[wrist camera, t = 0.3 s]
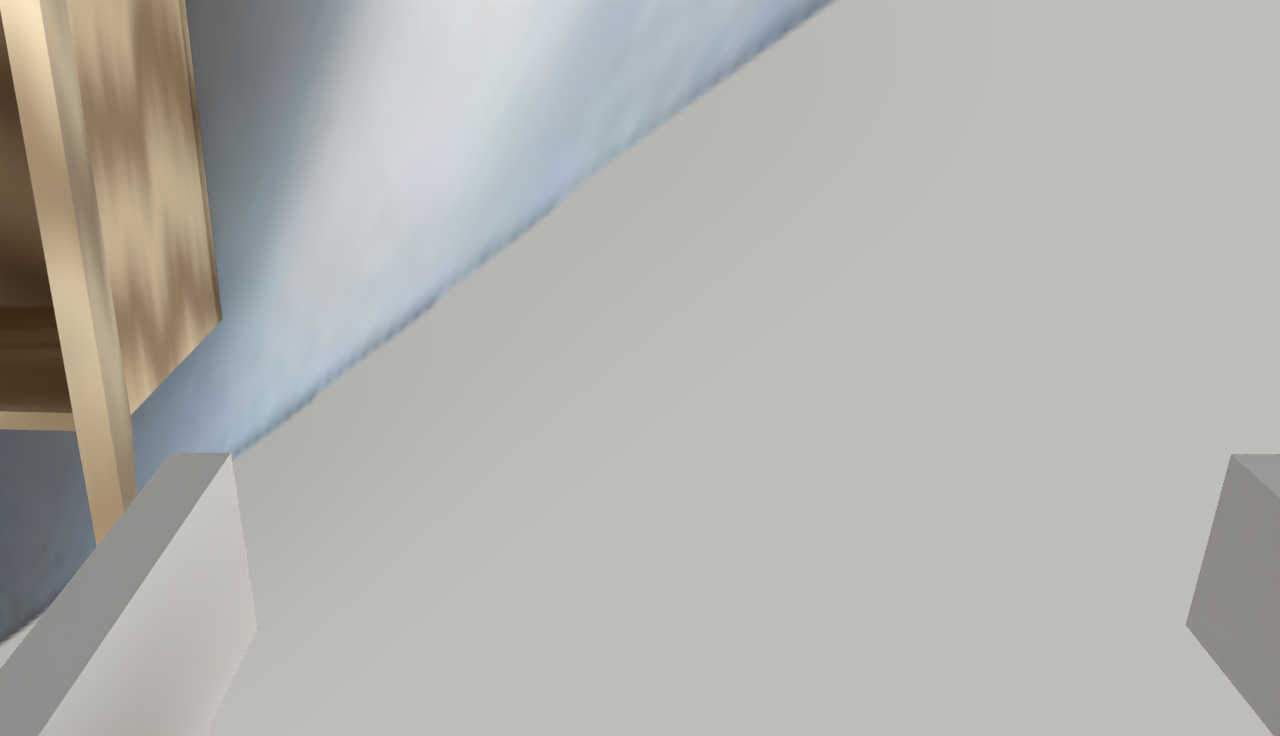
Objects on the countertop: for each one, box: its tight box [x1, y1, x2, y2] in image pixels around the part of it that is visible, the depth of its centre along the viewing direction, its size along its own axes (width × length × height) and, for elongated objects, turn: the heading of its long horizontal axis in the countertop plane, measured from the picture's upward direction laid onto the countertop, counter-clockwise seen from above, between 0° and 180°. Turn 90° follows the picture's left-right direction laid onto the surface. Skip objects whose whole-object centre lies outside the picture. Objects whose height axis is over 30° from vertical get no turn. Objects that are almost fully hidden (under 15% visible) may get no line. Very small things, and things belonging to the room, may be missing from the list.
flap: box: [0, 0, 137, 546], centre depth 24 cm, size 17×11×1 cm
